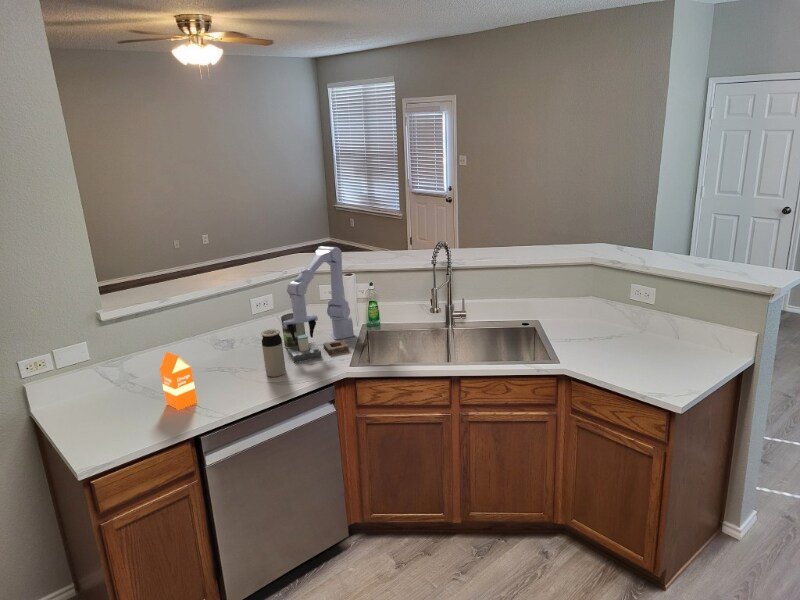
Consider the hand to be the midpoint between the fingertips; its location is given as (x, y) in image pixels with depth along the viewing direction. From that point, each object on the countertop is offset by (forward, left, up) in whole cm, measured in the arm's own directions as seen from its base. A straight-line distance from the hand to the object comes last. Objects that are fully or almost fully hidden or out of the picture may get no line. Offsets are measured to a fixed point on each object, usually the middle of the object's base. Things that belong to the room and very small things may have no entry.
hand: (302, 338), depth 250 cm
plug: (0, 0, -8) cm, 8 cm away
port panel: (0, 0, -8) cm, 8 cm away
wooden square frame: (-14, +1, -8) cm, 16 cm away
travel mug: (+15, +13, -8) cm, 22 cm away
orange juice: (+52, +23, -8) cm, 58 cm away
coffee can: (+1, -15, -8) cm, 17 cm away
